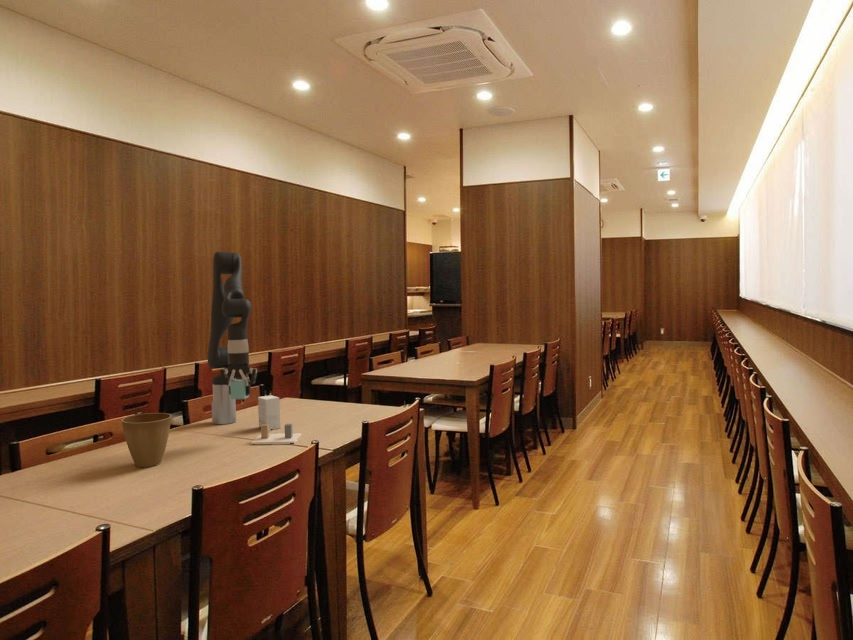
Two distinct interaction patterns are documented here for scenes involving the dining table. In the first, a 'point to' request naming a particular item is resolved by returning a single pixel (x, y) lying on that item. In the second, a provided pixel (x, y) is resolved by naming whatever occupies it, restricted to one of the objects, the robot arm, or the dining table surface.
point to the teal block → (238, 389)
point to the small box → (269, 411)
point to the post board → (276, 436)
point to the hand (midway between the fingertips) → (240, 395)
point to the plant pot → (147, 437)
